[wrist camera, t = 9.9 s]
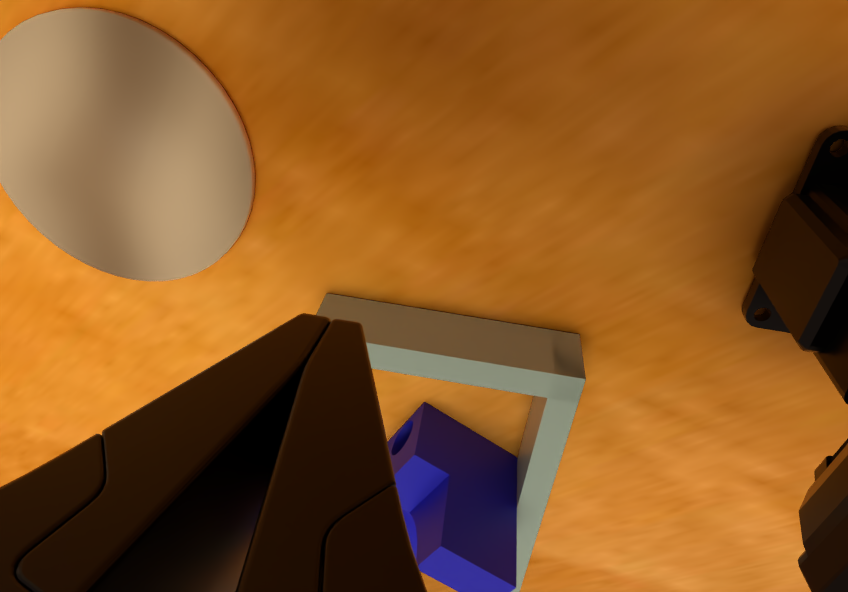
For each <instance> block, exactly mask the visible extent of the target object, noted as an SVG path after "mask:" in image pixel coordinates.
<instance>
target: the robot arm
mask: <svg viewBox="0 0 848 592" xmlns="http://www.w3.org/2000/svg"><path fill="white" fill-rule="evenodd" d="M839 139H844V145H843V146H842V148H841V149H840V150H838V151H836V152H830V147H831V145H832V144H833V143H834V142H835V141H837V140H839ZM753 273H754V275H755V279H754V282H753V284H752V286H751V288H750V291H749V293H748V295H747V297H746V300H745V302H744V304H743V308H742V312H743V315H744V317H745V319H746V321H747V322H748V323H749V324H750V325H751V326H754V327H757V328H763V329H769V330H776V331H782V332H788V333H791V334H792V336H793V337H794V339H795V340H796V342H797V344H798V345H799V347H800V348H801V349H802V350H803V351H808V352H813V353H814V355H815V356H816V358H817V359H818V361H819V362H820V364H821V365H822V367H823V369H824V370H825V372H826V373H827V375H828V376H829V378H830V379H831V381H832V382H833V384H834V385H835V387H836V389H837V390H838V392H839V393H840V395H841V396H842V398H843V399H844V401H845V402H846V404H848V127H846V126H834V127H831V128H829V129H826V130H825V131H824V132H823V133H821V134H820V135H819V137H818V138H817V140H816V142H815V144H814V146H813V148H812V151H811V153H810V155H809V157H808V160H807V162H806V164H805V166H804V169H803V171H802V173H801V176H800V178H799V180H798V182H797V185H796V187H795V189H794V191H793V193H792V194H791V195H789V196H788V197H786V198H785V199H783V201H782V203H781V205H780V208H779V210H778V212H777V214H776V217H775V219H774V221H773V224H772V226H771V228H770V230H769V233H768V235H767V237H766V240H765V242H764V244H763V246H762V249H761V251H760V253H759V256H758V258H757V260H756V262H755V265H754V267H753ZM760 308H767V309H766V311H765V312H764V313H762V314H757V315H755V314H754V313H755V312H756V310H758V309H760ZM799 516H800V524H801V532H802V540H803V545H804V548H805V551H804V552H803V553H802V555H801V556H800V557H799V559H798V564H799V567H800V570H801V572H802V574H803V576H804V578H805V580H806V582H807V584H808V586H809V588H810V590H811V592H848V439H847V440H846V441H845V443H844V444H843V445H842V446H841V447H840V448H839V450H838V451H837V452H836V453H835V454H834V455H833V456H827V457H826V458H825V459H824V460H823V461H822V463H821V464H820V465H819V466H818V467H817V468H816V470H815V482H814V484H813V485H812V486H811V487H810V488H809V489H808V491H807V494H806V496H805V498H804V501H803V503H802V505H801V507H800V510H799ZM0 592H427V590H426V587H425V585H424V582H423V579H422V576H421V573H420V570H419V567H418V564H417V561H416V558H415V555H414V552H413V550H412V546H411V543H410V539H409V535H408V531H407V527H406V523H405V520H404V516H403V512H402V507H401V503H400V498H399V493H398V489H397V488H396V481H395V476H394V471H393V467H392V462H391V457H390V453H389V448H388V443H387V439H386V434H385V429H384V425H383V420H382V415H381V410H380V406H379V401H378V396H377V392H376V387H375V382H374V378H373V373H372V368H371V363H370V359H369V354H368V349H367V345H366V340H365V335H364V331H363V326H362V324H361V323H359V322H355V321H348V320H342V319H334V320H332V321H331V320H330V319H329V318H328V317H324V316H318V315H312V314H306V313H303V314H300V315H298V316H296V317H294V318H293V319H291V320H289V321H288V322H286V323H284V324H283V325H281V326H279V327H277V328H276V329H274V330H272V331H271V332H269V333H267V334H266V335H264V336H262V337H260V338H259V339H257V340H255V341H254V342H252V343H250V344H249V345H247V346H245V347H243V348H242V349H240V350H238V351H237V352H235V353H233V354H232V355H230V356H228V357H227V358H225V359H223V360H221V361H220V362H218V363H216V364H215V365H213V366H211V367H210V368H208V369H206V370H204V371H203V372H201V373H199V374H198V375H196V376H194V377H193V378H191V379H189V380H187V381H186V382H184V383H182V384H181V385H179V386H177V387H176V388H174V389H172V390H170V391H169V392H167V393H165V394H164V395H162V396H160V397H159V398H157V399H155V400H153V401H152V402H150V403H148V404H147V405H145V406H143V407H142V408H140V409H138V410H136V411H135V412H133V413H131V414H130V415H128V416H126V417H125V418H123V419H121V420H119V421H118V422H116V423H114V424H113V425H111V426H109V427H108V428H106V429H104V430H103V431H102V436H101V435H100V434H95V435H94V436H92V437H90V438H88V439H87V440H85V441H83V442H82V443H80V444H78V445H77V446H75V447H73V448H71V449H70V450H68V451H66V452H64V453H63V454H61V455H59V456H57V457H55V458H54V459H52V460H50V461H48V462H47V463H45V464H43V465H41V466H39V467H38V468H36V469H34V470H32V471H30V472H29V473H27V474H25V475H23V476H21V477H19V478H17V479H15V480H13V481H11V482H10V483H8V484H6V485H4V486H2V487H0Z"/></svg>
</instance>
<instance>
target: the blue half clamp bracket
mask: <svg viewBox="0 0 848 592" xmlns="http://www.w3.org/2000/svg"><path fill="white" fill-rule="evenodd" d="M387 443H388V448H389V453H390V457H391V462H392V467H393V471H394V476H395V481H396V488H397V489H398V493H399V498H400V503H401V507H402V512H403V516H404V520H405V523H406V527H407V531H408V535H409V539H410V543H411V546H412V550H413V552H414V555H415V558H416V561H417V564H418V567H419V570H420V571H421V572H423V573H425V574H427V575H428V576H430V577H432V578H434V579H436V580H438V581H440V582H442V583H443V584H445V585H447V586H449V587H451V588H453V589H455V590H456V591H458V592H511V591H513V590H514V589H515V588H516V576H517V457H516V456H514V455H512V454H511V453H509V452H507V451H506V450H504V449H502V448H501V447H499V446H497V445H496V444H494V443H492V442H491V441H489V440H487V439H486V438H484V437H482V436H481V435H479V434H477V433H476V432H474V431H473V430H471V429H469V428H468V427H466V426H464V425H463V424H461V423H459V422H458V421H456V420H454V419H453V418H451V417H449V416H448V415H446V414H444V413H443V412H441V411H439V410H438V409H436V408H434V407H433V406H431V405H429V404H428V403H426V402H424V403H423V404H422V405H421V406H420V407H419V408H418V409H417V411H416V412H415V413H414V414H413V415H412V416H411V417H410V418H409V419H408V420H407V421H406V422H405V424H404V425H403V426H402V427H401V428H400V429H399V430H398V431H397V432H396V433H395V434H394V435H393V436H392V438H391V439H390V440H389V441H388V442H387Z"/></svg>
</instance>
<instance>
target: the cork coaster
mask: <svg viewBox="0 0 848 592" xmlns="http://www.w3.org/2000/svg"><path fill="white" fill-rule="evenodd" d="M0 183H1V184H2V186H3V188H4V190H5V191H6V193H7V194H8V196H9V197H10V198H11V200H12V201H13V203H14V204H15V206H16V207H17V208H18V209H19V210H20V211H21V213H22V214H23V215H24V216H25V217H26V219H27V220H28V221H29V222H30V223H31V224H32V225H33V226H34V227H35V228H36V229H37V230H38V231H39V232H40V233H41V234H43V235H44V236H45V237H46V238H47V239H49V240H50V241H51V242H52V243H54V244H55V245H56V246H58V247H59V248H60V249H62V250H63V251H65V252H66V253H68V254H69V255H71V256H73V257H74V258H76V259H78V260H80V261H81V262H83V263H85V264H87V265H89V266H92V267H94V268H96V269H98V270H101V271H104V272H107V273H110V274H113V275H116V276H119V277H124V278H128V279H133V280H142V281H168V280H175V279H180V278H184V277H187V276H191V275H193V274H196V273H198V272H200V271H202V270H204V269H206V268H208V267H209V266H211V265H212V264H214V263H215V262H217V261H218V260H219V259H220V258H221V257H222V256H223V255H224V254H225V253H227V251H228V250H229V249H230V248H231V247H232V245H233V244H234V243H235V241H236V240H237V239H238V238H239V236H240V235H241V233H242V231H243V229H244V227H245V225H246V224H247V221H248V218H249V215H250V212H251V210H252V205H253V199H254V194H255V169H254V159H253V155H252V150H251V146H250V141H249V139H248V136H247V133H246V130H245V127H244V125H243V122H242V120H241V118H240V116H239V114H238V112H237V110H236V108H235V106H234V104H233V102H232V101H231V99H230V98H229V96H228V95H227V93H226V91H225V90H224V88H223V87H222V86H221V84H220V83H219V82H218V81H217V79H216V78H215V77H214V75H213V74H212V73H211V72H210V70H209V69H208V68H207V67H206V66H205V65H204V64H203V63H202V62H201V61H200V60H199V59H198V58H197V57H196V56H195V55H194V54H192V53H191V52H190V51H189V50H188V49H186V48H185V47H184V46H183V45H181V44H180V43H179V42H178V41H176V40H175V39H173V38H172V37H170V36H169V35H167V34H166V33H164V32H163V31H161V30H159V29H158V28H156V27H154V26H152V25H150V24H148V23H146V22H144V21H142V20H139V19H137V18H134V17H131V16H128V15H125V14H123V13H119V12H115V11H110V10H105V9H101V8H87V7H77V8H65V9H60V10H55V11H51V12H47V13H44V14H40V15H37V16H34V17H32V18H30V19H28V20H26V21H23V22H22V23H20V24H19V25H17V26H16V27H15V28H13V29H12V30H10V31H9V32H8V33H7V34H6V35H5V36H4V37H3V38H2V39H1V40H0Z"/></svg>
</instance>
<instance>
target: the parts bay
mask: <svg viewBox="0 0 848 592" xmlns="http://www.w3.org/2000/svg"><path fill="white" fill-rule="evenodd" d="M316 315H318V316H324V317H328V318H329V319H330V320H331V321H332V320H334V319H342V320H348V321H355V322H359V323H361V324H362V326H363V331H364V335H365V340H366V345H367V349H368V354H369V359H370V363H371V368H373V369H379V370H385V371H391V372H397V373H402V374H408V375H414V376H420V377H426V378H432V379H438V380H444V381H450V382H456V383H462V384H468V385H474V386H480V387H486V388H492V389H497V390H503V391H509V392H515V393H521V394H527V395H533V396H534V397H533V400H532V404H531V408H530V412H529V416H528V419H527V423H526V427H525V431H524V435H523V439H522V442H521V446H520V450H519V454H518V458H517V576H516V588H515V589H514V590H513V591H511V592H519V591H520V588H521V585H522V582H523V578H524V575H525V572H526V569H527V566H528V562H529V559H530V556H531V553H532V550H533V546H534V543H535V540H536V537H537V534H538V530H539V527H540V524H541V521H542V518H543V514H544V511H545V508H546V505H547V502H548V498H549V495H550V492H551V489H552V486H553V482H554V479H555V476H556V473H557V470H558V466H559V463H560V460H561V457H562V454H563V450H564V447H565V444H566V441H567V438H568V434H569V431H570V428H571V425H572V422H573V418H574V415H575V412H576V409H577V406H578V402H579V399H580V396H581V393H582V390H583V386H584V383H585V380H586V377H585V370H584V363H583V356H582V348H581V341H580V334H574V333H568V332H562V331H556V330H550V329H543V328H537V327H531V326H525V325H519V324H513V323H507V322H500V321H494V320H488V319H482V318H476V317H470V316H464V315H458V314H451V313H445V312H439V311H433V310H427V309H421V308H415V307H408V306H402V305H396V304H390V303H384V302H378V301H372V300H366V299H359V298H353V297H347V296H341V295H335V294H329V293H327V294H326V296H325V298H324V300H323V302H322V304H321V306H320V308H319V310H318V312H317V314H316Z"/></svg>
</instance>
